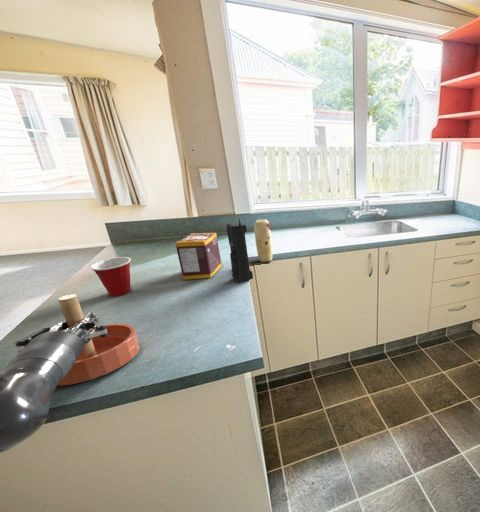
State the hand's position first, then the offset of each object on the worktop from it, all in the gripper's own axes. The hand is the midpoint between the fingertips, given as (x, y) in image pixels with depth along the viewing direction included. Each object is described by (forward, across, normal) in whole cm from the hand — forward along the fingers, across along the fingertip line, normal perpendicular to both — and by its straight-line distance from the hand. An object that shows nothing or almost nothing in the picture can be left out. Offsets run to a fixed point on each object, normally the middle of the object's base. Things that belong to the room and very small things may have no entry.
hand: (81, 318), depth 67 cm
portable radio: (+41, -35, +12) cm, 55 cm away
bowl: (0, 0, +12) cm, 12 cm away
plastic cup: (+46, +5, +12) cm, 47 cm away
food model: (+61, -47, +12) cm, 78 cm away
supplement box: (+56, -21, +12) cm, 61 cm away
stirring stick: (-3, 0, +10) cm, 10 cm away
